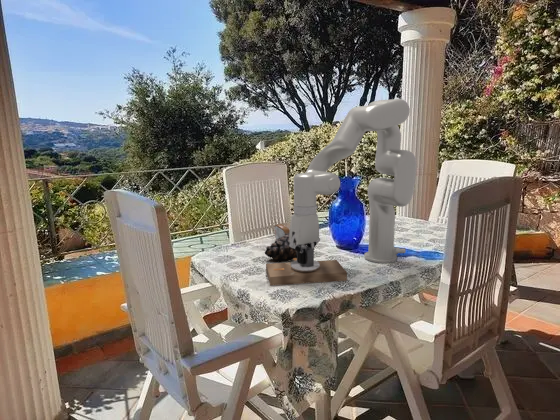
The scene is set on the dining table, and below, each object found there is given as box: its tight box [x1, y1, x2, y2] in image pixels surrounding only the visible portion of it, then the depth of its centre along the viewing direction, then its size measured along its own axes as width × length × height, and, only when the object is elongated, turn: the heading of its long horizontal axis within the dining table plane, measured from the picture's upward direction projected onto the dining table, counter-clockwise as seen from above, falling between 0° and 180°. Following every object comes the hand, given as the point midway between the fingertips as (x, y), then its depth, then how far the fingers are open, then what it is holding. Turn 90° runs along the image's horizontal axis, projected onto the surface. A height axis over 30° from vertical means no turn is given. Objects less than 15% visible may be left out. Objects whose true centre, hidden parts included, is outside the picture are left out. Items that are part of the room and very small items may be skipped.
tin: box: [273, 223, 290, 241], centre depth 179 cm, size 15×3×8 cm, turn 22°
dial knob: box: [290, 245, 320, 272], centre depth 140 cm, size 12×10×7 cm
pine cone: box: [264, 233, 307, 263], centre depth 159 cm, size 10×18×10 cm, turn 134°
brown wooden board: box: [265, 259, 348, 287], centre depth 141 cm, size 26×13×3 cm, turn 98°
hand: (305, 261), depth 140 cm, fingers closed on dial knob, 3 cm apart
